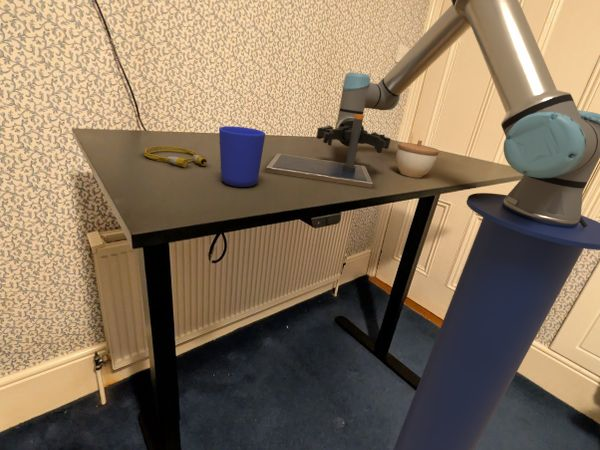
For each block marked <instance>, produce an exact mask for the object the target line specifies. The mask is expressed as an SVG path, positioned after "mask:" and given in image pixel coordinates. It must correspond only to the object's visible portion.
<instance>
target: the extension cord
mask: <svg viewBox="0 0 600 450" xmlns="http://www.w3.org/2000/svg"><path fill="white" fill-rule="evenodd" d="M162 152H172V153H182V154H188V155H192V157H189V158H184V157H179V156H170V155H169V156H167V157H166V156H161V155H157V154H155V153H162ZM144 156H145V157H146V158H148V159H149V160H153V161H156V162H162V163H170V164H172V165H174V167H175V166H177V167H181V168H187V167H189V163H191V162H195V164H197V165H199V166H200V165H201V166H203V167H204V166H207V163H208V160H207V159H206V158H205V157H204V156H202V155H199V154H198V153H197V152H196V151H194V150H191V149H187V148H184V147H179V146H174V145H173V146H172V145H156V146H155V145H154V146H150V147H147V148H145V150H144Z"/></svg>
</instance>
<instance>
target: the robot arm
mask: <svg viewBox="0 0 600 450" xmlns="http://www.w3.org/2000/svg"><path fill="white" fill-rule="evenodd" d="M450 1H451V3H452V4H451V5H450V6H449V7H448V8H447V9H446V10H445V11H444V12H443V13H442V15H441V16H440V17H439V18H437V20H436V21H435V22H434V23H433V24H432V25H431V26H430V27H429V28H428V30H427V31H425V33H423V35H422V36H421V37H420V38H419V39H418V40H417V41H416V42H415V43H414V44H413V46H411V48H410V49H409V50H408V51H407V52H406V53H405V54H404V55H403V56H402V57H401V58H400V60H399V61H398V62H397V63H396V64H395V65H394V66H393V67H392V68H391V69H390V70H389V72H387V74H386V75H385V76H384V77H383V78H382V79H381V80H380V81H379V82H378V83H374V82H371V75H369V74H366V73H359V72H352V71H351V72H347V73H346V74H345V76H344V81H343V84H342V91H341V96H340V97H341V98H340V103H339V109H338V114H337V118H336V119H337V120H336V122H335V128H334V126H332V125H326V126H321V127H318V128H317V132H316V139H318V140H322V139H323V140H322V143H324V144H327V146H332V144H333V141H334V140H337V141H339V142H340V144H342V145H343V146H344V147H345V146H346V147H349V144H350V138H351V133H352V128H353V123H354V116H355V114H361V115H364V112H365V109H369V110H378V111H390V110H391V111H392V110H393V109H394V108H396V107H397V106H398V104H399V101H400V99H401V98H400V97H401V94H403V93H404V91H406V90H407V89H408V88H409V87H410V86H411V85H412V84H413V83H414V82H415V81H416V80H418V78H419V77H420V76H421V75H422V74H423V73H425V72H426V71H427V70H428V69H429V68H430V67H431V66H432V65H433V64H434V63H435V62H436V61H437V60H439V58H440V57H441V56H443V54H445V53H446V52H447V51H448V50H449V49H450V48H451V47H453V45H455V43H456V42H457V41H458V40H459V39H460V38H461V37H463V35H465V34H466V33H467V32H468V31H469V30H470V29H471V30H472V33H473V35H474V38H475V41H476V42H477V45H478V47H479V50H480V52H481V55H482V57H483V60H484V62H485V64H486V67H487V70H488V72H489V75H490V77H491V79H492V83H493V85H494V87H495V90H496V92H497V94H498V97H499V99H500V102H501V105H502V107H503V109H504V112H505V115H504V117H503V119H502V121H501V123H500V125H501V128H502V131H503V133H504V136H505V139H504V141H503V156H504V158H505V160H506V163H508V165H509V167H511V168H512V169H513V170H514V171H516V172H517V173H518V174H521V175H523V176H522V178H521V179H520V180H519V181H518V182H517V184H516V185H514V187H513V188H512V189H511V190H510V192H509V193H508V194H506V195H507V196H506V198H505V199H504V202H503V204H502V207H503V208H504V209H506V210H507V211H509V212H511V213H513V214H515V215H517V216H520V217H522V218H525V219H528V220H531V221H534V222H538V223H542V224H546V225H550V226H556V227H562V228H574V227H577V225H578V223H579V222H580V223H581V225H582V226H583V227H587V226H588V225H587V224H586V223H585V221H584V220H583V218H582V217H581V215H582V207H583V196H584V195H583V193H584V190H585V188H586V186H587V184H588V182H589V181H590V178H591V177H592V175H593V172H594V171H595V168H596V167H597V164H598V163H599V161H600V113H599V112H593V111H587V110H580V109H578V107H577V105H576V102H575V101H574V98H573V96H572V93H570V92H567V91H563V90H558V89H557V87H556V84H555V81H554V79H553V77H552V75H551V73H550V70H549V67H548V65H547V63H546V61H545V58H544V56H543V54H542V52H541V50H540V47H539V45H538V42H537V40H536V38H535V36H534V33H533V31H532V29H531V26H530V24H529V22H528V19H527V17H526V15H525V13H524V10H523V8H522V6H521V3H520V1H519V0H450ZM385 135H386V134H379V133H377V132H376V131H373V132H370V133H369V132H368V131H367V130H365V127H364V126H363V124H362V127H361V132H360V137H359V142H358V145H365V144H366V145H369V146H372V147H374V150H375V151H376V152H377V153H378V154H382V152H383V149H385V150H389V149H390V145H391V144H390V143H391V141H392V139H391V138H390V137H387V136H385Z"/></svg>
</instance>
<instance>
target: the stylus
mask: <svg viewBox="0 0 600 450" xmlns="http://www.w3.org/2000/svg"><path fill="white" fill-rule="evenodd" d="M364 117H365V115H364V114H363V115H361V114H355V116H354V123H353V128H352V133H351V138H350V144H349V146H348V149H347V155H346V160H345V163H346V164H343V167H342V170H343V171H346V172H355V169H356V166H354V165H355V161H356V157H357V153H358V152H357V151H358V146H359V144H358V142H359V137H360V132H361V127H362V125H363V122H364Z"/></svg>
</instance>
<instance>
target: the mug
mask: <svg viewBox="0 0 600 450" xmlns="http://www.w3.org/2000/svg"><path fill="white" fill-rule="evenodd" d="M218 133H219V135H218V136H219V154H220V156H219V157H220V175H221V179H222V182H224V183H225V184H226V185H228V186H231V187H235V188H237V187H238V188H249V187H253V186H255V185H256V184H257V182H258V180H259V177H260V170H261V163H262V162H261V161H262V157H263V152H264V145H265V139H266V132H265V131H263V130H260V129H256V128H251V127H244V126H232V125H231V126H220V127H219V129H218Z"/></svg>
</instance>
